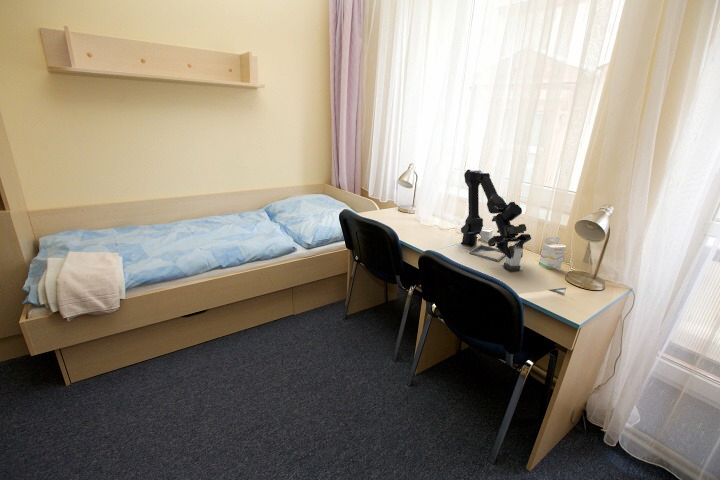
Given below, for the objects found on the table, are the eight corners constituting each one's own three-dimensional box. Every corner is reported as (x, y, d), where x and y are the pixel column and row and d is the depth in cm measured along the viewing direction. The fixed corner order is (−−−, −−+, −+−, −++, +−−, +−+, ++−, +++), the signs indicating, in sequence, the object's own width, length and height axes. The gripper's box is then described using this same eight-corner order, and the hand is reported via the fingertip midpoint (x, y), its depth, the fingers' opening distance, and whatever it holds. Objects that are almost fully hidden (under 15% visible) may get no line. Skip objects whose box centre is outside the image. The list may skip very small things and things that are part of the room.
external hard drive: (539, 289, 136) (546, 278, 145) (562, 296, 131) (568, 285, 140) (540, 285, 135) (547, 275, 144) (563, 292, 130) (569, 281, 139)
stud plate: (498, 268, 151) (499, 265, 151) (512, 267, 153) (512, 264, 153) (509, 275, 145) (509, 272, 145) (522, 274, 147) (523, 271, 146)
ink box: (545, 271, 150) (553, 241, 145) (537, 267, 155) (544, 237, 149) (561, 270, 152) (569, 239, 147) (552, 265, 157) (560, 236, 152)
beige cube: (491, 239, 189) (493, 229, 186) (487, 242, 184) (489, 231, 182) (480, 236, 192) (482, 226, 190) (476, 239, 188) (478, 229, 185)
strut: (503, 266, 150) (507, 245, 147) (512, 265, 151) (516, 245, 148) (510, 271, 146) (514, 249, 142) (519, 270, 147) (524, 249, 144)
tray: (468, 256, 164) (469, 251, 163) (479, 248, 174) (480, 244, 173) (497, 264, 156) (498, 259, 155) (507, 256, 166) (508, 251, 165)
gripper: (496, 218, 142) (509, 252, 136) (533, 216, 147) (546, 249, 141) (482, 230, 152) (493, 262, 146) (517, 227, 157) (529, 259, 151)
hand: (516, 258), depth 145 cm, fingers open, 5 cm apart
